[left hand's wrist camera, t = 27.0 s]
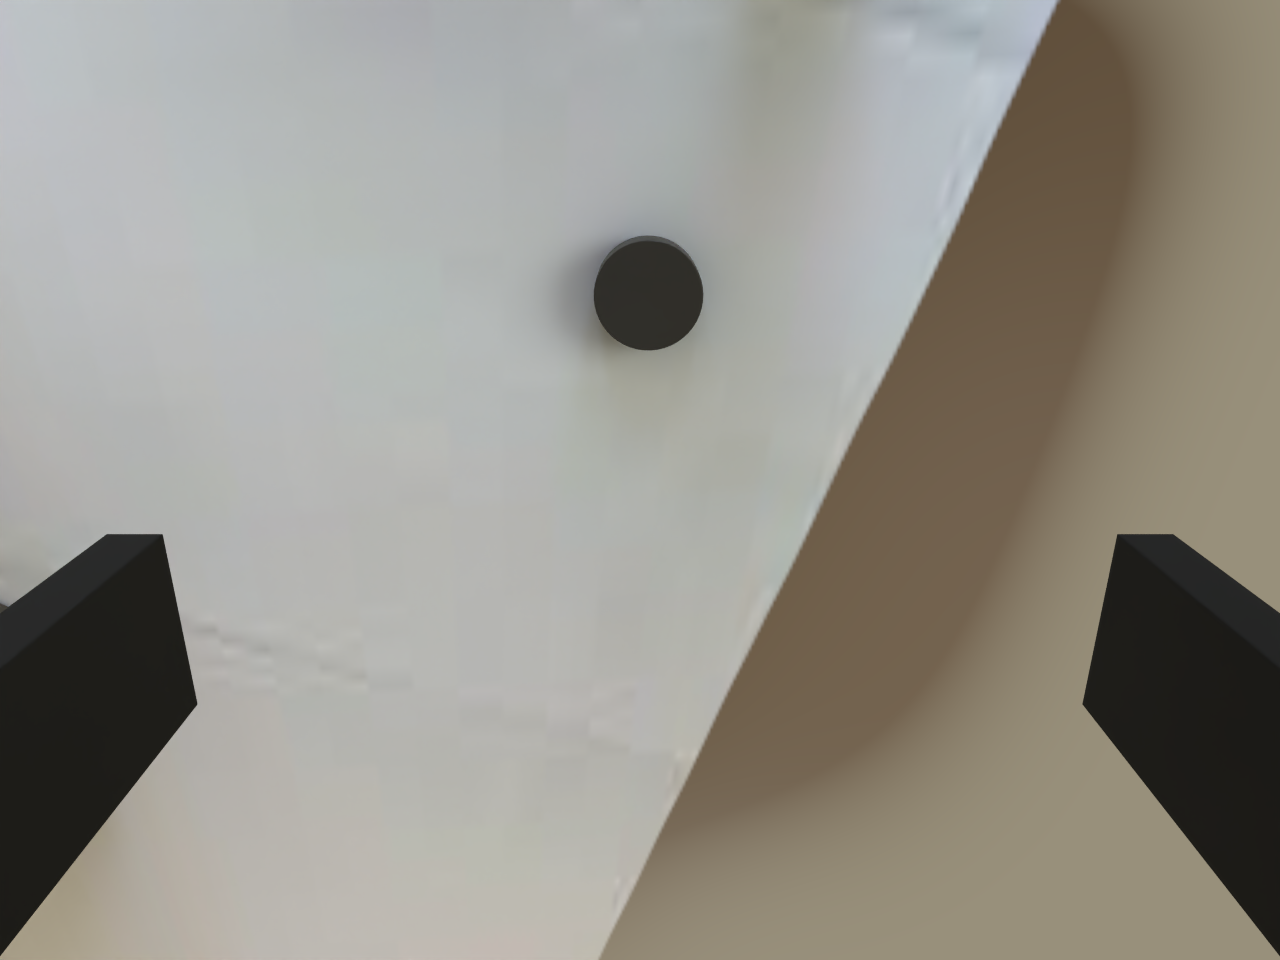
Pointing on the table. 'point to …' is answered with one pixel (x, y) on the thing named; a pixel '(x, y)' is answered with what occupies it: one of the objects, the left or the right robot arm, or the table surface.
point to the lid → (648, 293)
